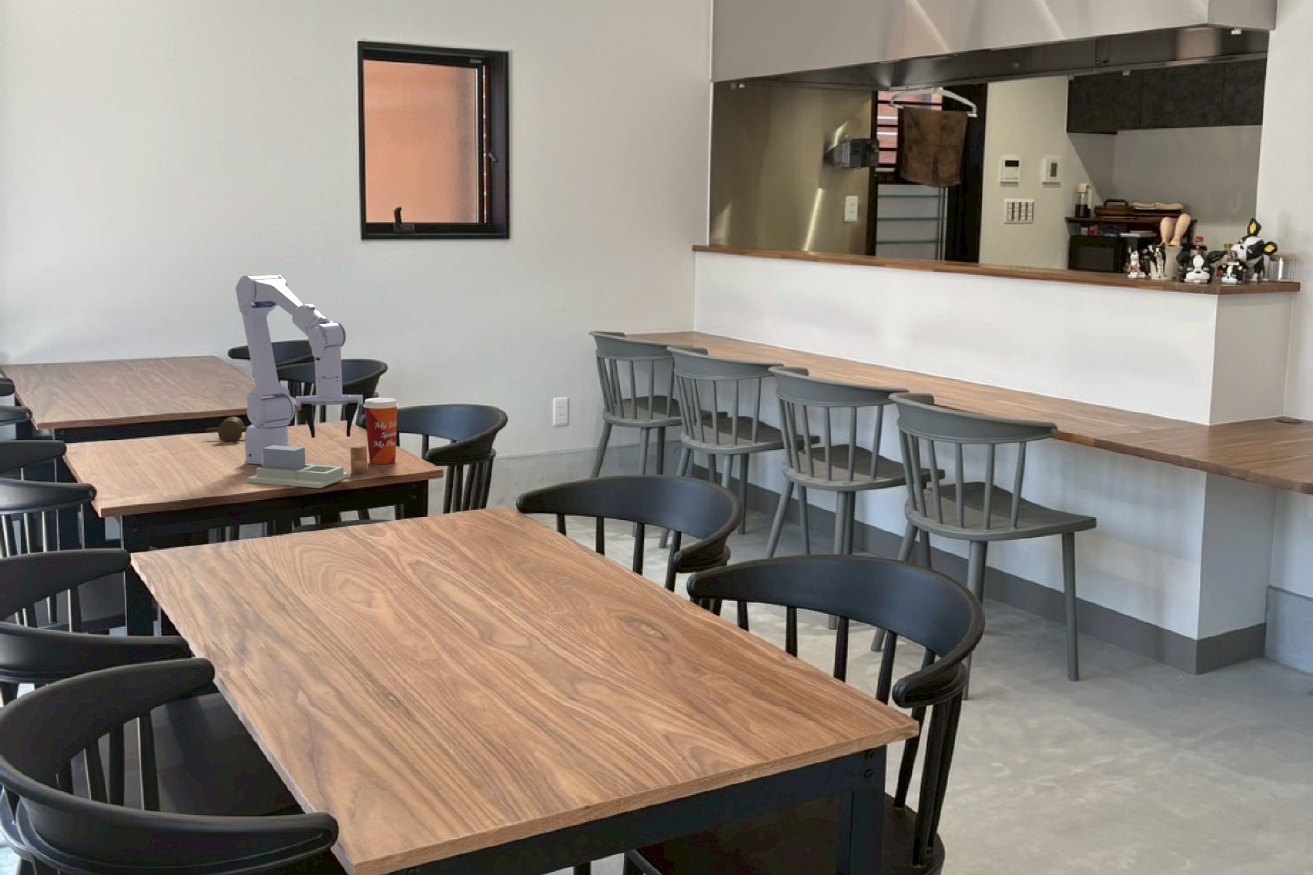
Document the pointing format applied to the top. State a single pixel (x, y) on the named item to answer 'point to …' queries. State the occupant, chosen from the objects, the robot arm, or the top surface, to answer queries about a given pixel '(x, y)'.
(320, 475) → the tray
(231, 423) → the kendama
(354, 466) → the tail peg
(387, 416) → the coffee cup
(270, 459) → the grey-blue box block
